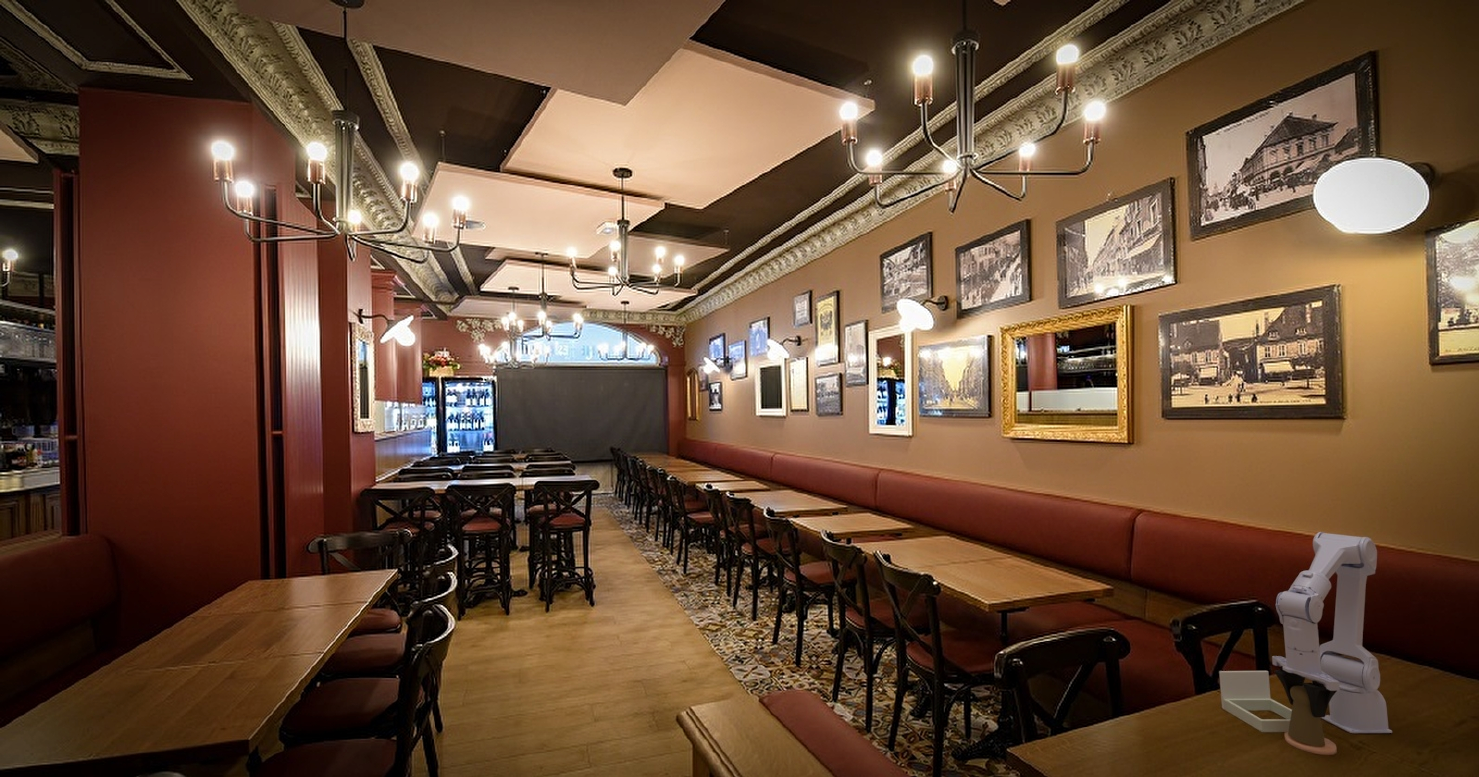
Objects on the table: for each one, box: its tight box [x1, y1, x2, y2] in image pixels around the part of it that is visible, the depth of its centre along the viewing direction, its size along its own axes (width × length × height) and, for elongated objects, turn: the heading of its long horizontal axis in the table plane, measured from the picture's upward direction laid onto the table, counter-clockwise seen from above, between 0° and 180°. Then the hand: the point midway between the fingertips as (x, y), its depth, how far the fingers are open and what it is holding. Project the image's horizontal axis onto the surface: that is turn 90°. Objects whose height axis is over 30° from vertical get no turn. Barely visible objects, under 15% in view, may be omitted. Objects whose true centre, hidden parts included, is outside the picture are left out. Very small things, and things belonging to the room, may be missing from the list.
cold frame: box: [1218, 670, 1292, 733], centre depth 146 cm, size 12×12×9 cm
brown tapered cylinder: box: [1288, 686, 1325, 746], centre depth 135 cm, size 6×6×11 cm
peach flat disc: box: [1284, 731, 1338, 756], centre depth 134 cm, size 8×8×1 cm
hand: (1307, 710), depth 135 cm, fingers closed on brown tapered cylinder, 5 cm apart
